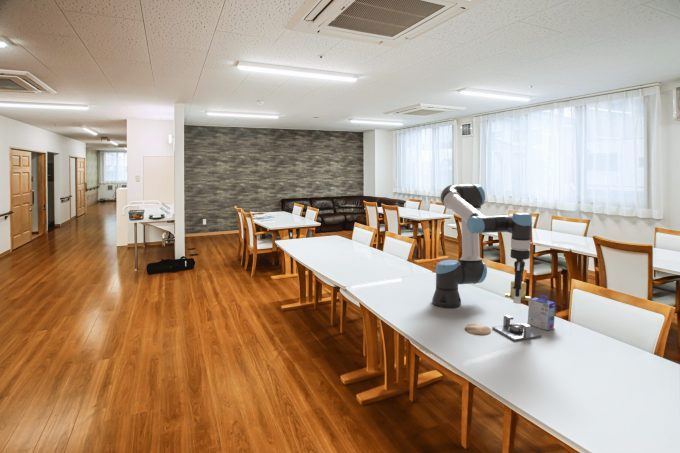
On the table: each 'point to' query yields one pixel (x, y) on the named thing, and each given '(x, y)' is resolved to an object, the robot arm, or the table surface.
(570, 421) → the table surface
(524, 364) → the table surface
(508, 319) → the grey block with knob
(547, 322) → the ink cartridge box
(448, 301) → the robot arm
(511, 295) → the bell
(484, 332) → the coaster
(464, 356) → the table surface
